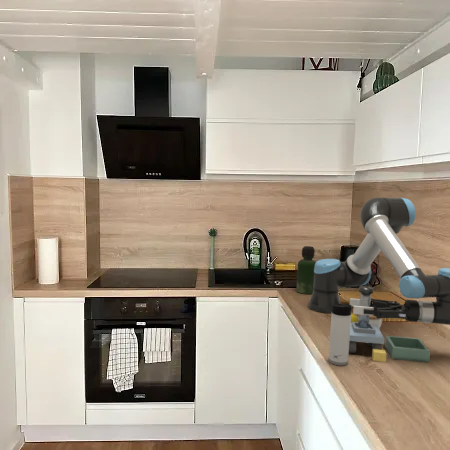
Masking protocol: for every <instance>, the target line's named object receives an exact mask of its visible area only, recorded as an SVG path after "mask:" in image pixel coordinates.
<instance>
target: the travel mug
mask: <svg viewBox="0 0 450 450" xmlns="http://www.w3.org/2000/svg"><path fill="white" fill-rule="evenodd" d="M352 307H353V306H352V305H350V303H341V304H333V305H332V313H331V318H330V329H329V331H330V334H329V348H328V362H329V363H330V364H332V365H333V366H341V367H342V366H346V365H348V363H349V339H350V325H351V313H352Z"/></svg>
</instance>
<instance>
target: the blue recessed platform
mask: <svg viewBox="0 0 450 450" xmlns="http://www.w3.org/2000/svg"><path fill="white" fill-rule="evenodd" d="M357 342H358V343H359V342H360V343H367V344H368V346H371V350H372V349H379V350H383V345H385V337H384V335H383V333H382V332H381V330H380V328H378V326H377V325H373V324H371V323H369V328H368V329H365V328H358V322H352V323H351V325H350V339H349V353H353V354H356V352H357Z"/></svg>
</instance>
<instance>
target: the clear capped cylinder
mask: <svg viewBox="0 0 450 450" xmlns="http://www.w3.org/2000/svg"><path fill="white" fill-rule="evenodd" d="M358 287H359V288H358V292H359V293H360V297H359V299H360V306H363V307H370V302H371V298H372V294H374V287H371V286H370V285H369V286H367V285H362V286H358ZM358 328H365V329H368V328H369V315H361V314H359V321H358Z"/></svg>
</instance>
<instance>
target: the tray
mask: <svg viewBox="0 0 450 450" xmlns="http://www.w3.org/2000/svg"><path fill="white" fill-rule="evenodd" d="M384 347H385V349H386V351H387V354H389V355H390V358H391V359H392V360H401V361H411V362H421V363H430V357H431V350H430V349H429V347H427V345H426V344H425V343H424V342H423V340H421V338H419V337H406V336H397V335H396V336H395V335H385V337H384Z"/></svg>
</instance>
